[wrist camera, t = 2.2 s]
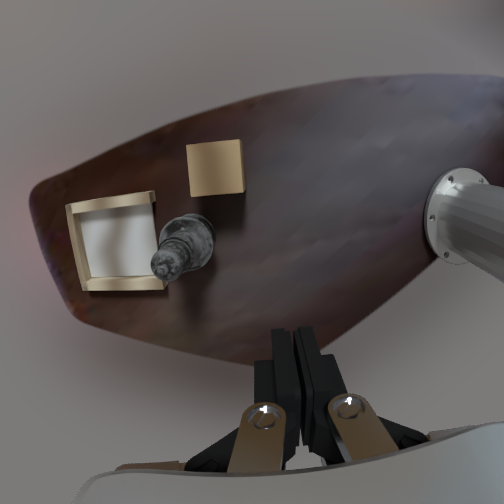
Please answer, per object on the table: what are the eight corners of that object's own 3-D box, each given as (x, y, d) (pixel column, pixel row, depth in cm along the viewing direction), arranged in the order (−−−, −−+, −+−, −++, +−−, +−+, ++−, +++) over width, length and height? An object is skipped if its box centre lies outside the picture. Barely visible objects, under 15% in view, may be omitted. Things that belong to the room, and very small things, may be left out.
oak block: (242, 142, 31) (239, 139, 27) (246, 188, 33) (243, 192, 28) (197, 147, 32) (186, 145, 27) (201, 191, 33) (191, 196, 28)
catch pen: (154, 190, 33) (148, 192, 31) (168, 283, 36) (163, 289, 35) (72, 202, 34) (65, 205, 32) (89, 285, 37) (82, 290, 35)
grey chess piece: (205, 268, 36) (180, 318, 24) (161, 247, 35) (118, 286, 24) (227, 225, 34) (207, 258, 22) (180, 202, 33) (139, 224, 22)
